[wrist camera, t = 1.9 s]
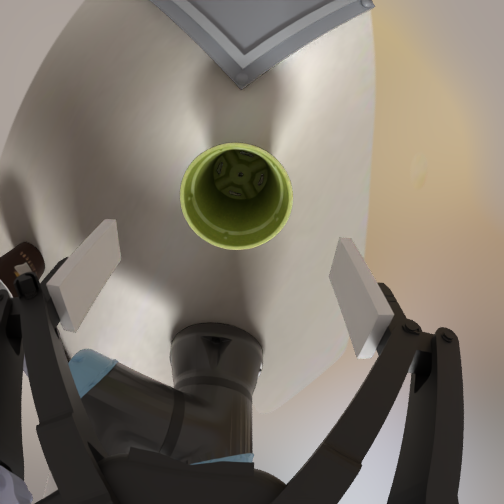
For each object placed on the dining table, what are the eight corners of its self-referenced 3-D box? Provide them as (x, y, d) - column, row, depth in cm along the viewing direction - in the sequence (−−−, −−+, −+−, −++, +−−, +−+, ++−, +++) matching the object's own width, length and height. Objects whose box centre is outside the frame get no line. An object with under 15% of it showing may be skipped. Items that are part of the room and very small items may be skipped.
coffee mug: (8, 233, 34) (-28, 266, 25) (43, 238, 35) (5, 275, 26) (25, 290, 40) (-3, 326, 31) (59, 299, 40) (32, 339, 32)
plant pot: (190, 202, 33) (172, 236, 25) (207, 122, 28) (191, 131, 21) (268, 221, 34) (273, 260, 26) (293, 144, 29) (308, 161, 22)
